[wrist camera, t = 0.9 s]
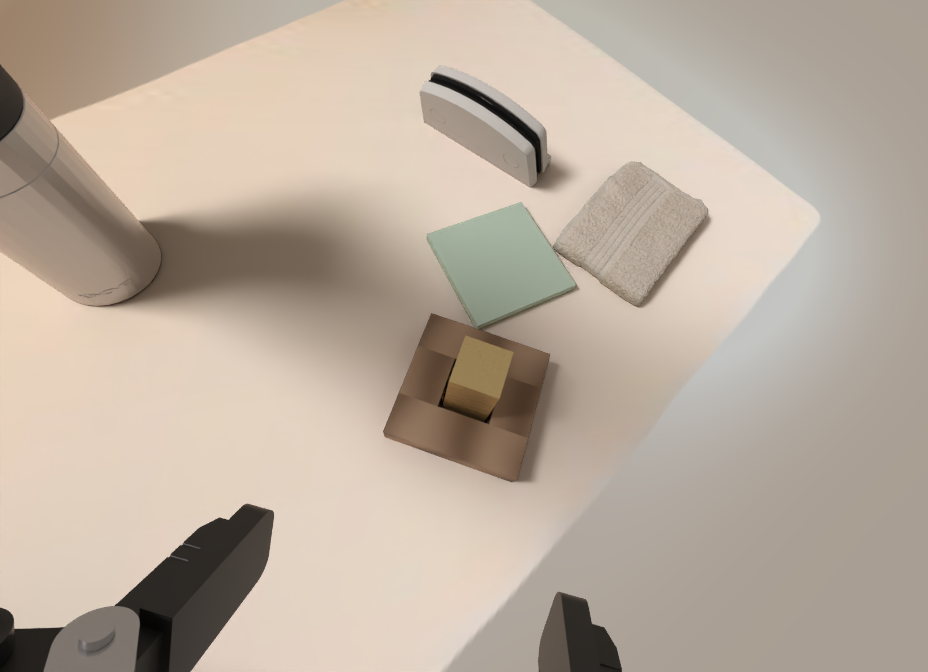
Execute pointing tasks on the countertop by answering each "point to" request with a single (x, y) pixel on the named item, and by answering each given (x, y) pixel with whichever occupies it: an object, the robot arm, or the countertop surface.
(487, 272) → the mat
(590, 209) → the washcloth
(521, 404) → the socket base
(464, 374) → the peg
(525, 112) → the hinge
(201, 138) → the countertop surface
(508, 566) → the countertop surface
